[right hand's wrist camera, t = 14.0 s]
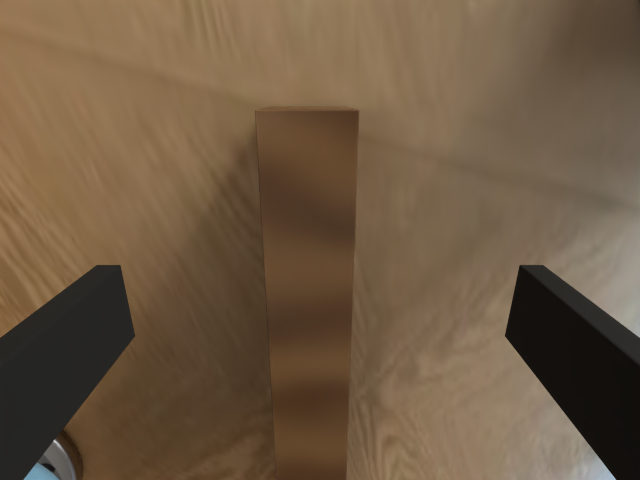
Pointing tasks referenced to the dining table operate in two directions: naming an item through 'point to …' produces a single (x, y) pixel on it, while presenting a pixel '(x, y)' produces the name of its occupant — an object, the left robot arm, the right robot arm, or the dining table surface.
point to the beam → (309, 281)
